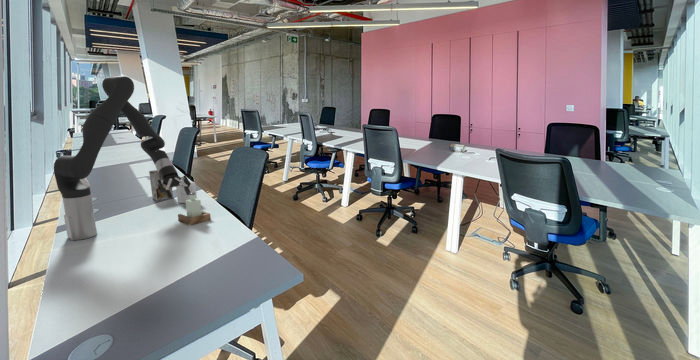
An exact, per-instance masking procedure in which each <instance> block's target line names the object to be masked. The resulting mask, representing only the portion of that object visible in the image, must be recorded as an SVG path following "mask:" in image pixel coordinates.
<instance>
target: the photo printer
mask: <svg viewBox="0 0 700 360" xmlns="http://www.w3.org/2000/svg"><path fill="white" fill-rule="evenodd" d="M183 182H184V181H183ZM189 182H190V183H191V185H190V187H189V190H190V192H195V198H196V199H198V197H197V184H196V182H194V181H191V180H189ZM180 185H181V183H180ZM176 197H177V203H179V204H186V200H189V199H190V195H187V194H186V192H185V190H184V188H182V187H179V186H177V187H176Z"/></svg>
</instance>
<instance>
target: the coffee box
mask: <svg viewBox="0 0 700 360" xmlns="http://www.w3.org/2000/svg"><path fill="white" fill-rule="evenodd" d="M148 174H149V181H150V187H151V188H150V189H151V196H152V199H153V200H155V201H156V202H157V201H162V200H166V199H167V200H168V199H169V198H168V197H167V195H166V193H165V192H162V193H161V192H160V191H159V188H158V186H157V181H158V180H162V179H161V177H160V175H159V173H158V171H157V169H156V170H155V169H154V170H149V173H148ZM162 185H163V187H164V188H166V186H167V185H165V184H164V183H163V184H162ZM168 190H170V192H171V194H172V198H174V192H173V187H172V188H171V187H169V189H168Z"/></svg>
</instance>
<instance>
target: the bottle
mask: <svg viewBox="0 0 700 360" xmlns="http://www.w3.org/2000/svg"><path fill="white" fill-rule="evenodd" d="M189 195H190V199H189V200H186V203H185V208H186V209H185V210H186V216H187V217H190V218H192V217H196V216H200V215H202V213H201V211H202V205H201V203H202V202H201V199H199V198H197V199H196V198H195V192H190V193H189Z"/></svg>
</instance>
